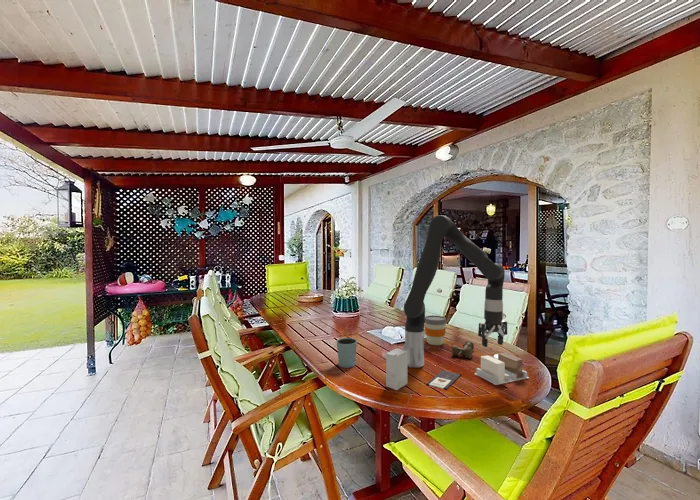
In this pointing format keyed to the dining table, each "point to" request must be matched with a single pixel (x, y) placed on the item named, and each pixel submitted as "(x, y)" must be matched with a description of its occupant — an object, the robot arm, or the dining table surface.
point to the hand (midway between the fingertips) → (492, 345)
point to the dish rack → (495, 380)
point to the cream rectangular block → (493, 367)
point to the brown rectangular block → (511, 363)
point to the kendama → (463, 349)
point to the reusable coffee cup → (435, 329)
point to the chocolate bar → (443, 379)
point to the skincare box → (396, 368)
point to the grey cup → (347, 352)
